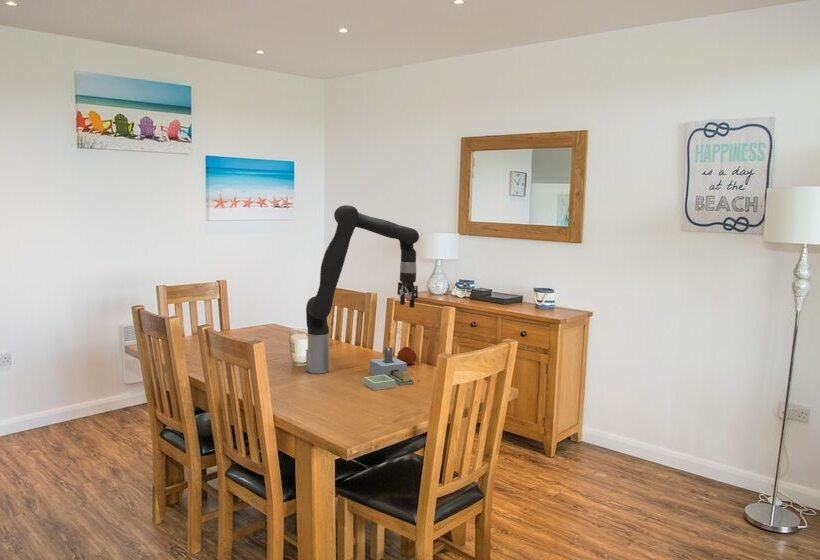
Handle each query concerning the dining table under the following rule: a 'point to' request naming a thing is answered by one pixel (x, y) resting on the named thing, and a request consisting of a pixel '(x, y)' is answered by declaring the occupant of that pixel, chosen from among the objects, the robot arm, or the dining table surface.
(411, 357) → the fruit
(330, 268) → the robot arm
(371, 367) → the socket block
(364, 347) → the dining table surface
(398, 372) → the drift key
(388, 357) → the drill peg
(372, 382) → the tray
